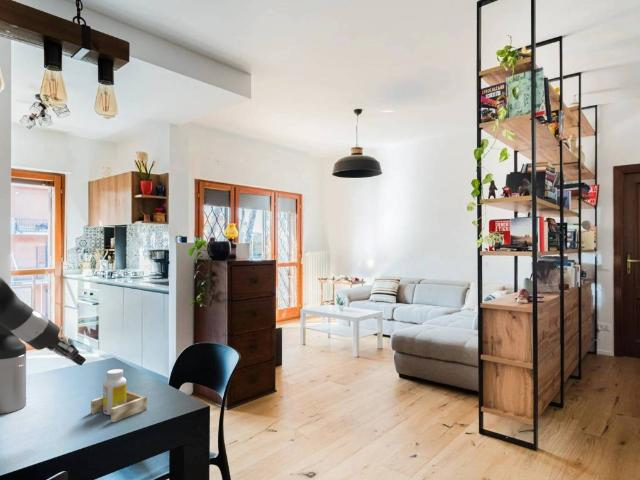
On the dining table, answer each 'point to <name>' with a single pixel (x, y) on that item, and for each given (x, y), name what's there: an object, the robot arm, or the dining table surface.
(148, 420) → the dining table surface
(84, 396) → the dining table surface
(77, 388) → the dining table surface
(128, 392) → the birch caddy
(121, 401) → the supplement bottle
